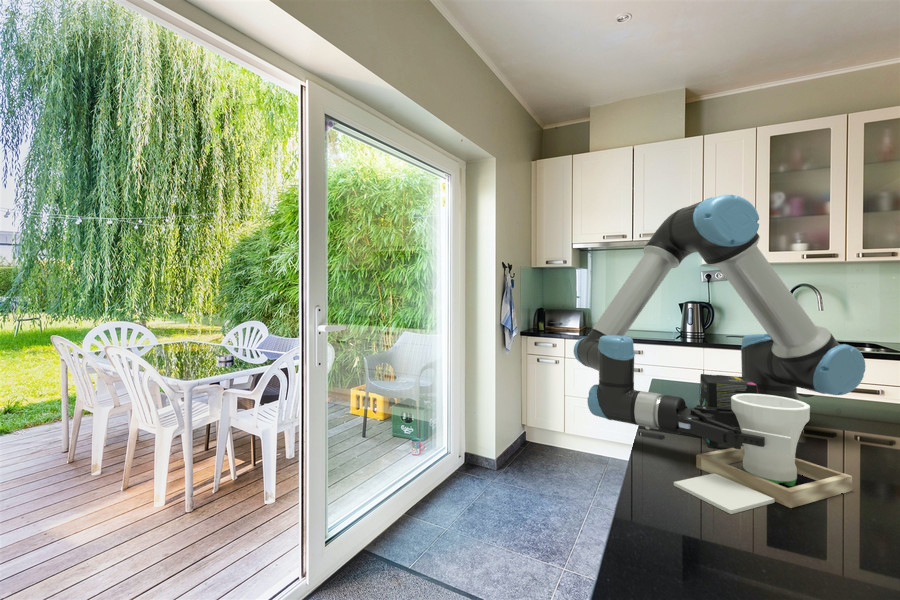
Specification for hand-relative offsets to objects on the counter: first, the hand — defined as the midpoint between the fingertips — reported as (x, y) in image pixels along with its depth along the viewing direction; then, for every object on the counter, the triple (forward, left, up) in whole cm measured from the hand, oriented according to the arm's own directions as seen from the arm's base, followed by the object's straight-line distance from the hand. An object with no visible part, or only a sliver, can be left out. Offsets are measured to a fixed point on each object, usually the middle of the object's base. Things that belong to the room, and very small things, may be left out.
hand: (795, 436), depth 70 cm
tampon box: (-9, -19, -9) cm, 22 cm away
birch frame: (+2, -3, -9) cm, 9 cm away
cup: (+2, -3, -9) cm, 9 cm away
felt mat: (+15, -2, -9) cm, 17 cm away
